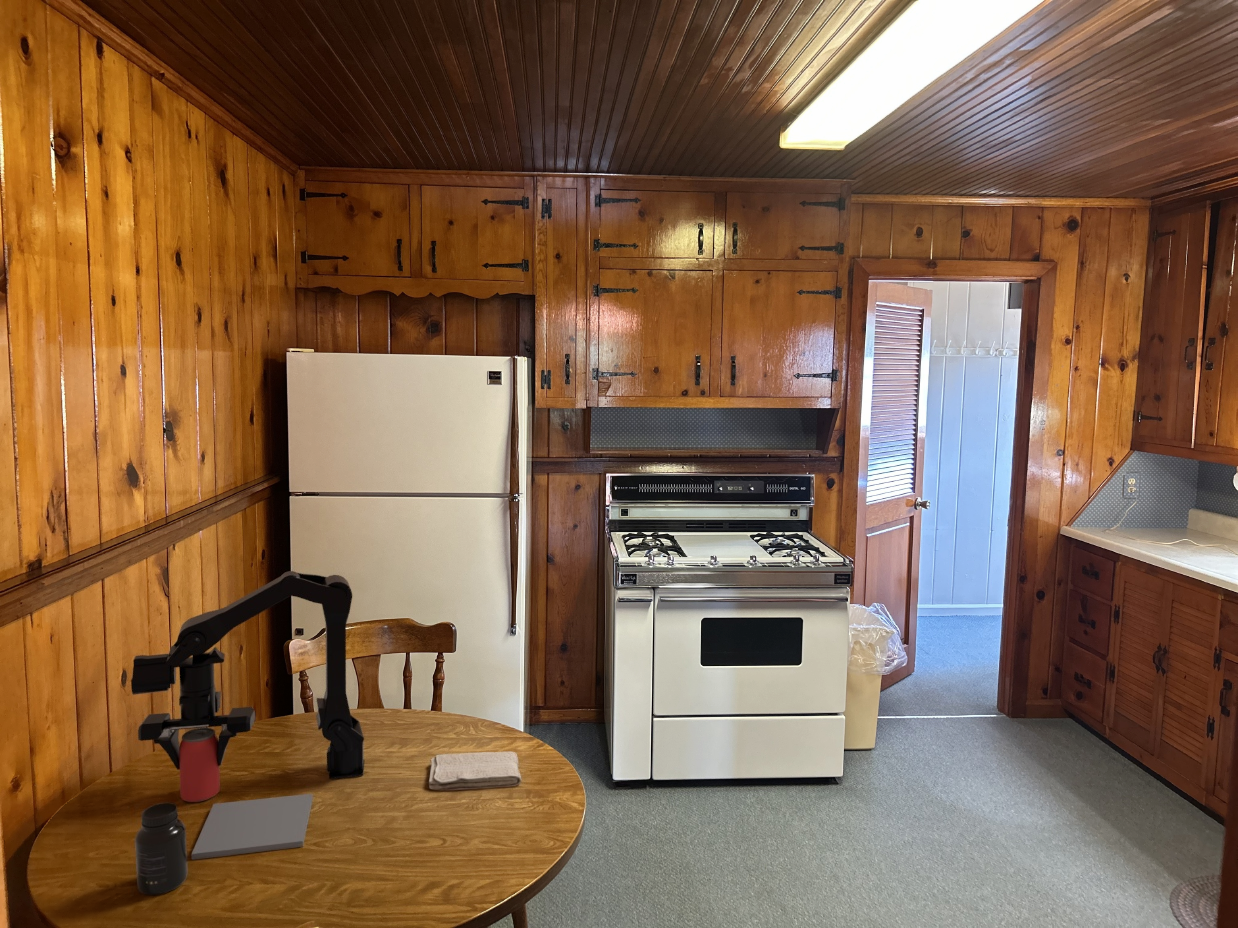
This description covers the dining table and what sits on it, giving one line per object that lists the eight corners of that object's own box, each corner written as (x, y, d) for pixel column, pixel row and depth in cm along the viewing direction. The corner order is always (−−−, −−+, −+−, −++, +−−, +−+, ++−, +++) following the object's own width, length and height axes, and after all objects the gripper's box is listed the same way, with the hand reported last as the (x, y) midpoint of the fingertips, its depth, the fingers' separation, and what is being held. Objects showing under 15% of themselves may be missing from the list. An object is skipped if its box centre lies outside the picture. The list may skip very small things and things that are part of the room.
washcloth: (430, 765, 166) (430, 751, 166) (517, 759, 169) (517, 745, 169) (428, 794, 154) (428, 779, 154) (521, 788, 158) (521, 773, 157)
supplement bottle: (150, 869, 128) (147, 798, 127) (195, 868, 129) (192, 797, 127) (128, 897, 121) (125, 822, 120) (175, 896, 122) (172, 821, 121)
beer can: (227, 787, 154) (225, 727, 153) (206, 805, 148) (204, 742, 146) (194, 784, 155) (193, 724, 154) (172, 802, 148) (170, 740, 147)
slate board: (312, 798, 151) (312, 793, 151) (302, 846, 136) (302, 840, 135) (213, 808, 146) (213, 803, 146) (191, 859, 131) (191, 853, 131)
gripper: (259, 667, 159) (260, 743, 161) (154, 674, 154) (156, 752, 156) (248, 688, 149) (250, 769, 150) (135, 696, 144) (138, 779, 145)
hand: (199, 766), depth 151 cm, fingers closed on beer can, 7 cm apart
